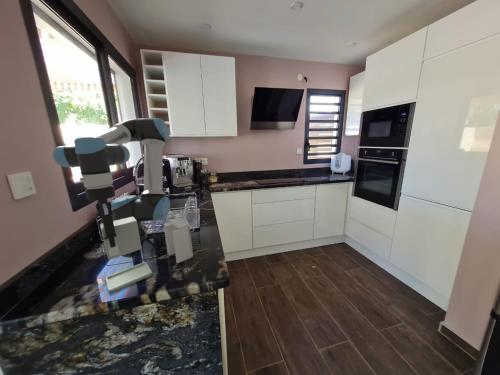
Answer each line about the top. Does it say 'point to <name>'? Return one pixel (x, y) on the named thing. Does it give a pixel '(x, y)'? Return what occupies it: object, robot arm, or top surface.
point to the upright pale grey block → (124, 236)
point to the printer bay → (178, 239)
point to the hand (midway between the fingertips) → (113, 250)
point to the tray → (127, 277)
